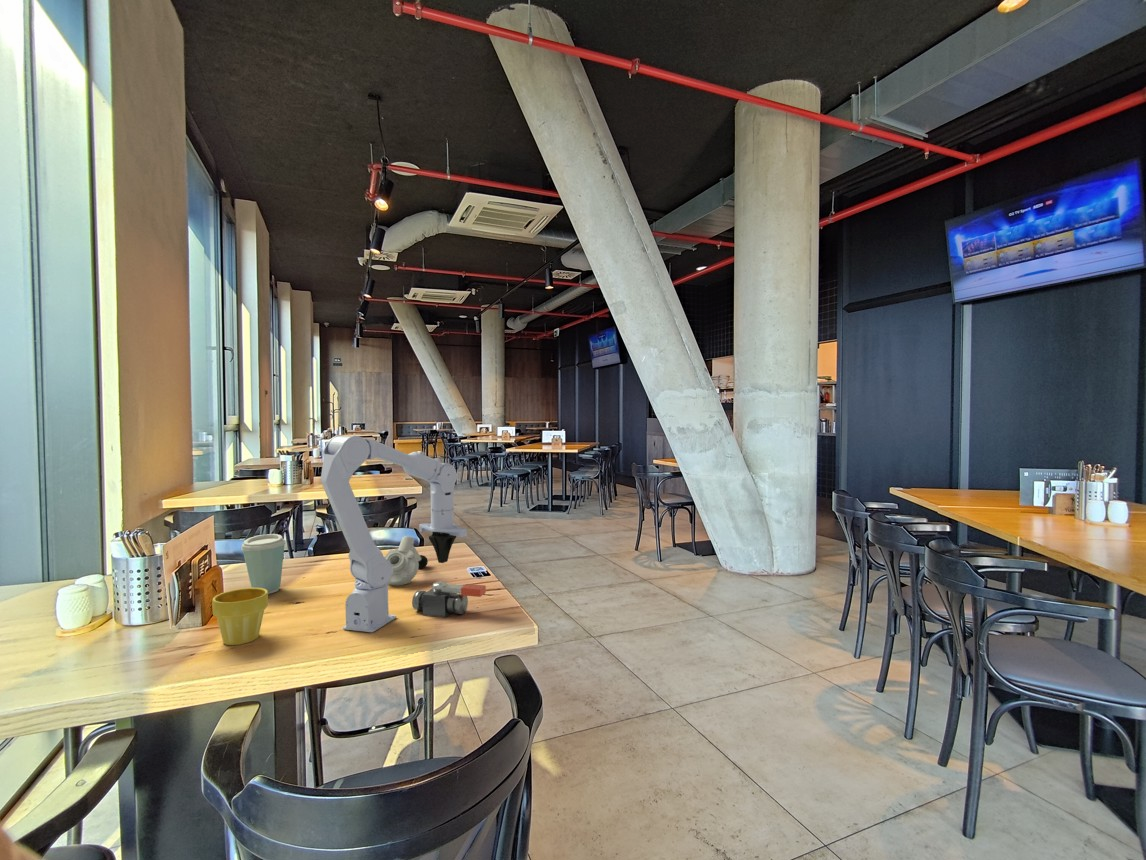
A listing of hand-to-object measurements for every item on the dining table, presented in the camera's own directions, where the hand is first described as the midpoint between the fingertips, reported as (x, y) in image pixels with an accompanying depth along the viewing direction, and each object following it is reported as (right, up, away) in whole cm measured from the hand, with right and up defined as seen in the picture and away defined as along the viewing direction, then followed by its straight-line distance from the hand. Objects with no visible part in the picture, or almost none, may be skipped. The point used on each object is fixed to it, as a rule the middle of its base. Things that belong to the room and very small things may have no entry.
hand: (443, 562), depth 140 cm
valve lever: (+6, -5, -8) cm, 11 cm away
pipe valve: (+1, -11, -7) cm, 13 cm away
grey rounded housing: (-16, -10, +23) cm, 30 cm away
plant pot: (-39, -12, -22) cm, 46 cm away
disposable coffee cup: (-51, -11, +10) cm, 53 cm away
